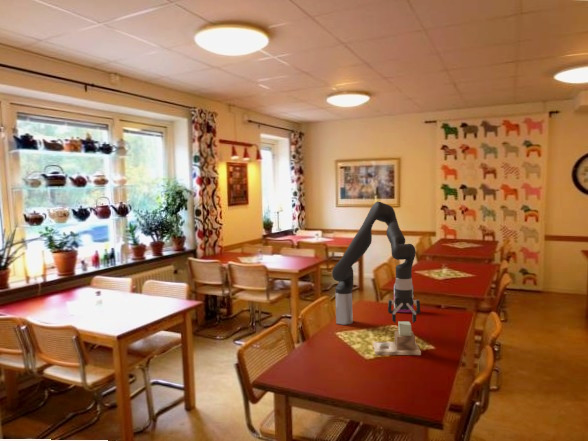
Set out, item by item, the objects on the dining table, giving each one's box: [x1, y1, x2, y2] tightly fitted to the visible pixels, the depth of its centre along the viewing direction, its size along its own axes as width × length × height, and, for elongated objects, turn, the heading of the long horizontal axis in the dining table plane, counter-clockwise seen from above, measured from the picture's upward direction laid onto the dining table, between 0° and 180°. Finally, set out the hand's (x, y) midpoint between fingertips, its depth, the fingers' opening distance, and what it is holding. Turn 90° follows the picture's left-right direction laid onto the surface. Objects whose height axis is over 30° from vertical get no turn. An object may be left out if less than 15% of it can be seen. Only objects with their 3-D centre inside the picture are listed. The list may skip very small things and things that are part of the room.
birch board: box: [372, 341, 422, 356], centre depth 191 cm, size 20×12×2 cm, turn 84°
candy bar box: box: [393, 283, 415, 314], centre depth 249 cm, size 11×5×16 cm, turn 84°
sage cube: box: [397, 321, 412, 336], centre depth 190 cm, size 5×5×5 cm
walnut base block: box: [394, 330, 416, 350], centre depth 191 cm, size 8×8×6 cm
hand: (404, 322), depth 190 cm, fingers open, 8 cm apart
